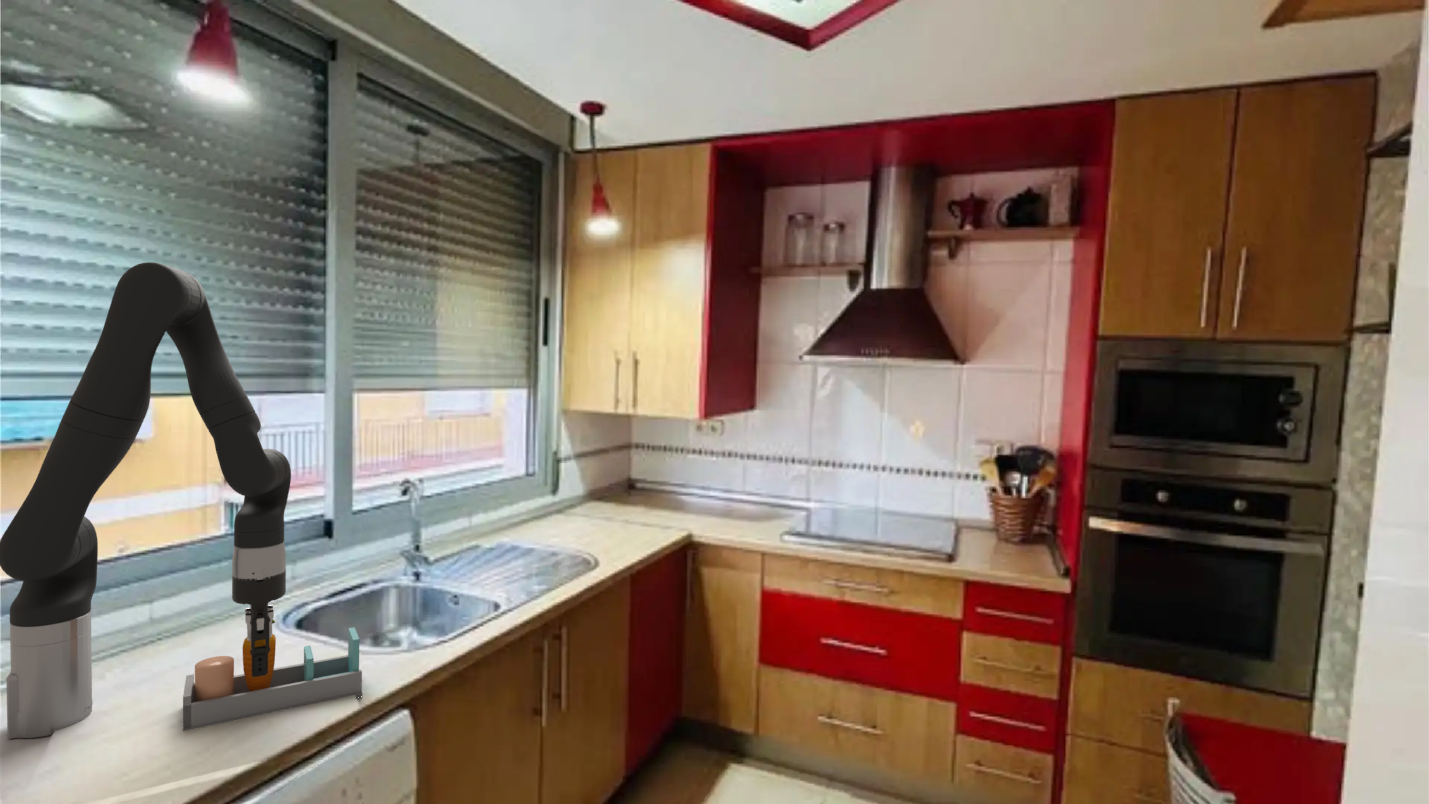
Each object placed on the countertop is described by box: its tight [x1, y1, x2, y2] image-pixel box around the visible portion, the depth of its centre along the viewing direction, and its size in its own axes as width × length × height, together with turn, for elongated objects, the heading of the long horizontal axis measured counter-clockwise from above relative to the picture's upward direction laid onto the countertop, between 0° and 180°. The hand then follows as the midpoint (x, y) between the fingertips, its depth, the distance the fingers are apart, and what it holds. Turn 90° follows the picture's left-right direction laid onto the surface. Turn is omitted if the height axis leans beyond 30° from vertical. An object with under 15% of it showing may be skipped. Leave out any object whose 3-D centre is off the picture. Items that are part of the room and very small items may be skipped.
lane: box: [182, 654, 363, 732], centre depth 119 cm, size 25×10×6 cm, turn 124°
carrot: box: [242, 619, 277, 691], centre depth 117 cm, size 5×5×15 cm
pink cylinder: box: [194, 655, 235, 702], centre depth 114 cm, size 5×5×8 cm
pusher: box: [303, 626, 360, 681], centre depth 124 cm, size 8×6×9 cm
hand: (259, 666), depth 118 cm, fingers open, 7 cm apart
